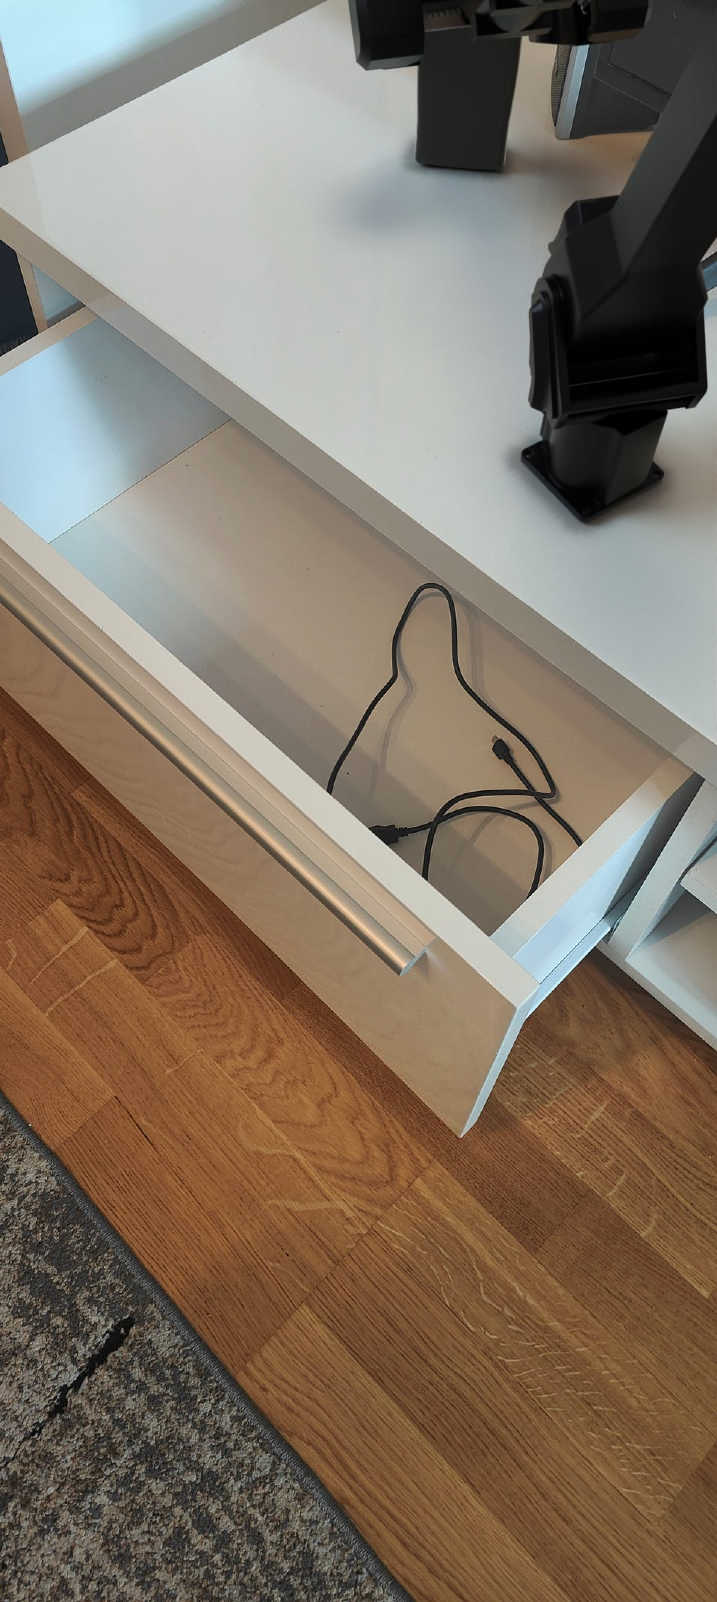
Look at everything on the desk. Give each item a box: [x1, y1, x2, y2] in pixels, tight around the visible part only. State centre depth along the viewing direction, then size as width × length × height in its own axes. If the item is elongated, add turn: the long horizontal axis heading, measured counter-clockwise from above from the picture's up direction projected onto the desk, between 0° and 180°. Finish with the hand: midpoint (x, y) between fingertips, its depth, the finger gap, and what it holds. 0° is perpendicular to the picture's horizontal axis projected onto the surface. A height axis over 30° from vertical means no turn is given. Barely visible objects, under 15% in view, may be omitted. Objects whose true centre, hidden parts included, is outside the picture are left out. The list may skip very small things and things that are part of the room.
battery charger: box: [413, 8, 523, 171], centre depth 79 cm, size 7×4×11 cm, turn 82°
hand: (466, 40), depth 77 cm, fingers open, 9 cm apart
